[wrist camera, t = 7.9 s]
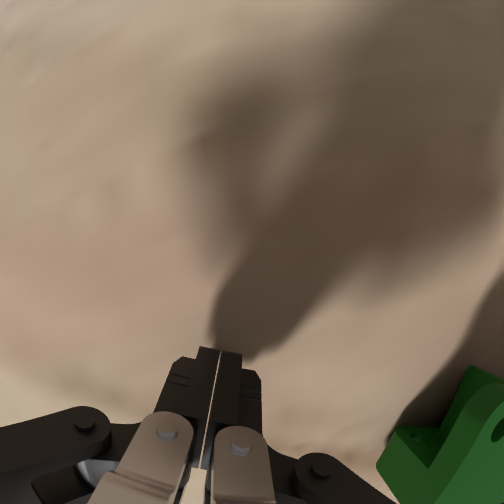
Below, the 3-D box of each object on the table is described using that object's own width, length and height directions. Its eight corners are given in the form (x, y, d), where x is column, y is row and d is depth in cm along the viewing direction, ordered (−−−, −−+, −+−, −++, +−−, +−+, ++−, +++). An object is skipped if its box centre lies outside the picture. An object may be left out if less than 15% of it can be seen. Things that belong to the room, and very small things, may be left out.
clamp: (484, 357, 17) (585, 394, 9) (450, 432, 17) (541, 479, 8) (402, 350, 11) (596, 431, 3) (344, 469, 11) (490, 574, 3)
